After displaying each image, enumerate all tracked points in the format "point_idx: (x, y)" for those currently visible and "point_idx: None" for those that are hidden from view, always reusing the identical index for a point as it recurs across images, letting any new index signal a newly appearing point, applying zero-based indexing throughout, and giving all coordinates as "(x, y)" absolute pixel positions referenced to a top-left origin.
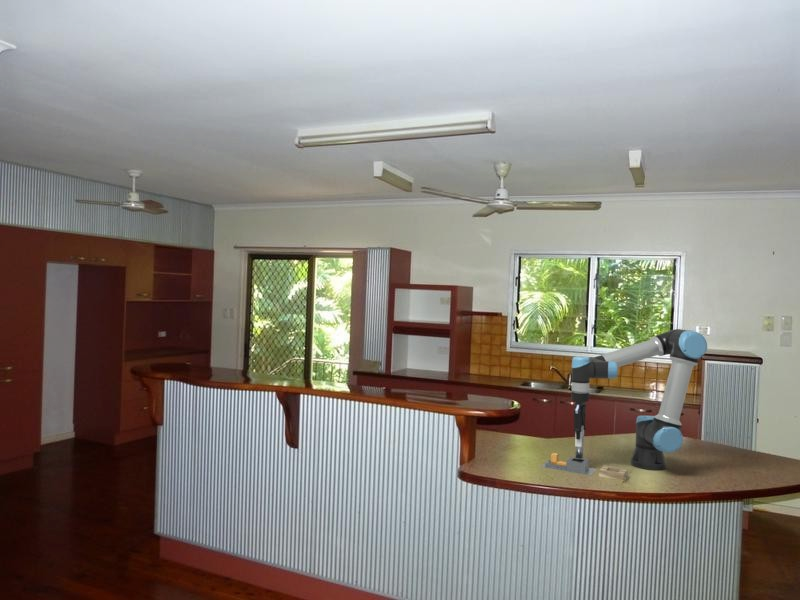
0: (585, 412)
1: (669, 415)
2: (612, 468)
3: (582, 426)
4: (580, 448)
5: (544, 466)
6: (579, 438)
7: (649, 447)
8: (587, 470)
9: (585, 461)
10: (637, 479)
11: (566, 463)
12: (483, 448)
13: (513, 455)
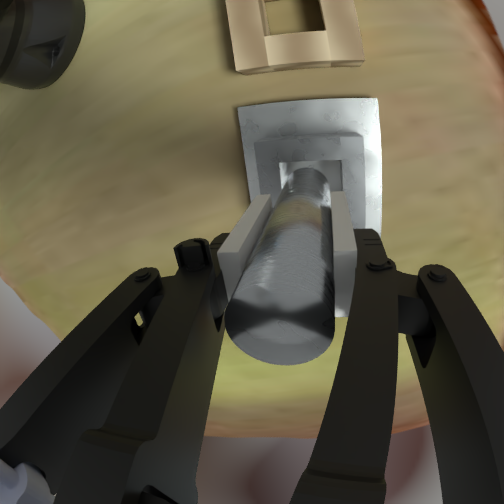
0: (19, 397)
1: None
2: (261, 20)
3: (308, 290)
4: (326, 197)
5: None
6: (376, 232)
7: (18, 7)
8: (300, 133)
9: (309, 148)
10: None
11: None
12: (242, 434)
13: (249, 392)
